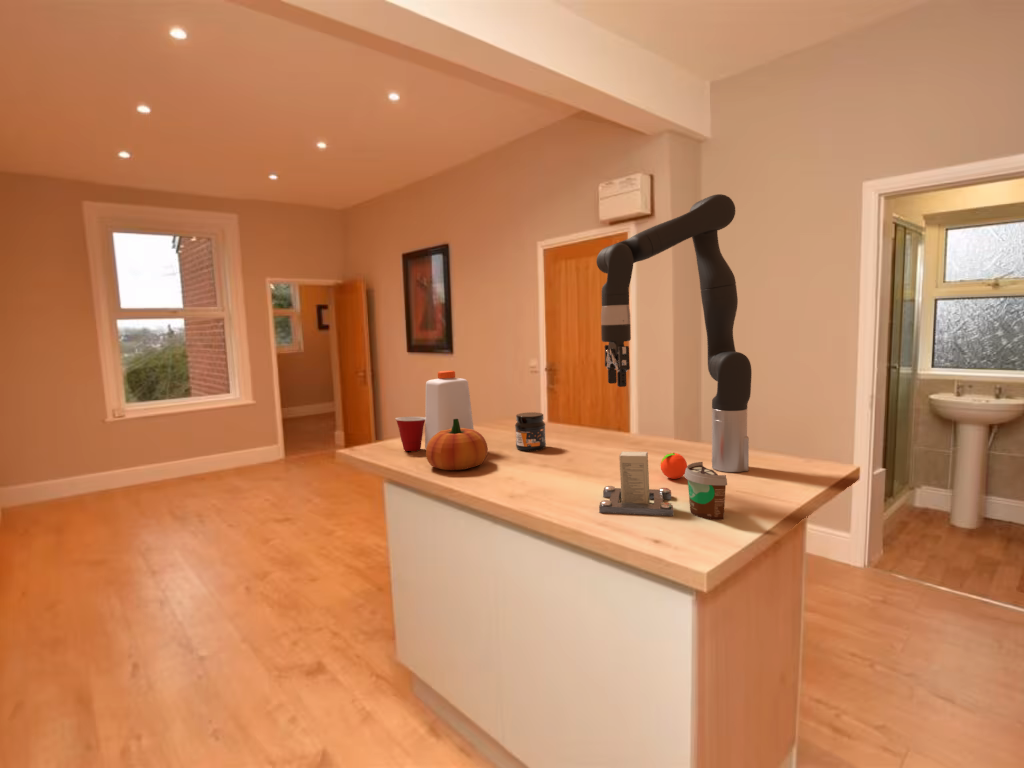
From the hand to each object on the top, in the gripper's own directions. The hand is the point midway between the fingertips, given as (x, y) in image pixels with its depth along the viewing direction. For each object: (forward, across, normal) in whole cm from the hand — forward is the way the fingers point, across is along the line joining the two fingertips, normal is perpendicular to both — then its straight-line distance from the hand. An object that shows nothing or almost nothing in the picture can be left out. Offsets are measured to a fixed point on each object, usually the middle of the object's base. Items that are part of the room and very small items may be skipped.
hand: (616, 384), depth 141 cm
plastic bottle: (+26, +50, +46) cm, 73 cm away
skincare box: (+26, -18, +2) cm, 32 cm away
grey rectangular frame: (+26, -19, +2) cm, 32 cm away
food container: (+26, -27, -10) cm, 39 cm away
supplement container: (+26, +45, +18) cm, 55 cm away
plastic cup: (+26, +54, +59) cm, 84 cm away
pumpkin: (+26, +27, +43) cm, 58 cm away
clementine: (+26, -1, -14) cm, 30 cm away
